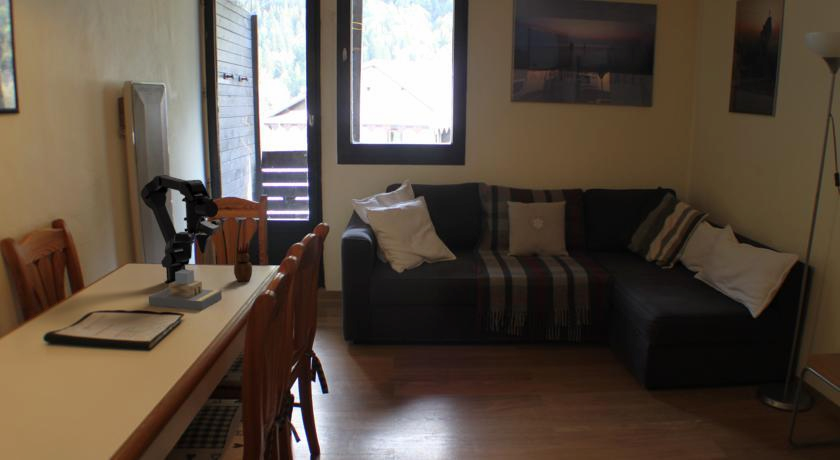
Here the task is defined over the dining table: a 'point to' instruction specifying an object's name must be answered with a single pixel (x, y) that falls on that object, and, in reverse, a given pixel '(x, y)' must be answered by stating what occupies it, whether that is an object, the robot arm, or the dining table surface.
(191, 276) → the grey cube
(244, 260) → the brown vase with sticks
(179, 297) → the dock
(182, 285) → the pallet
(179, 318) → the dining table surface
